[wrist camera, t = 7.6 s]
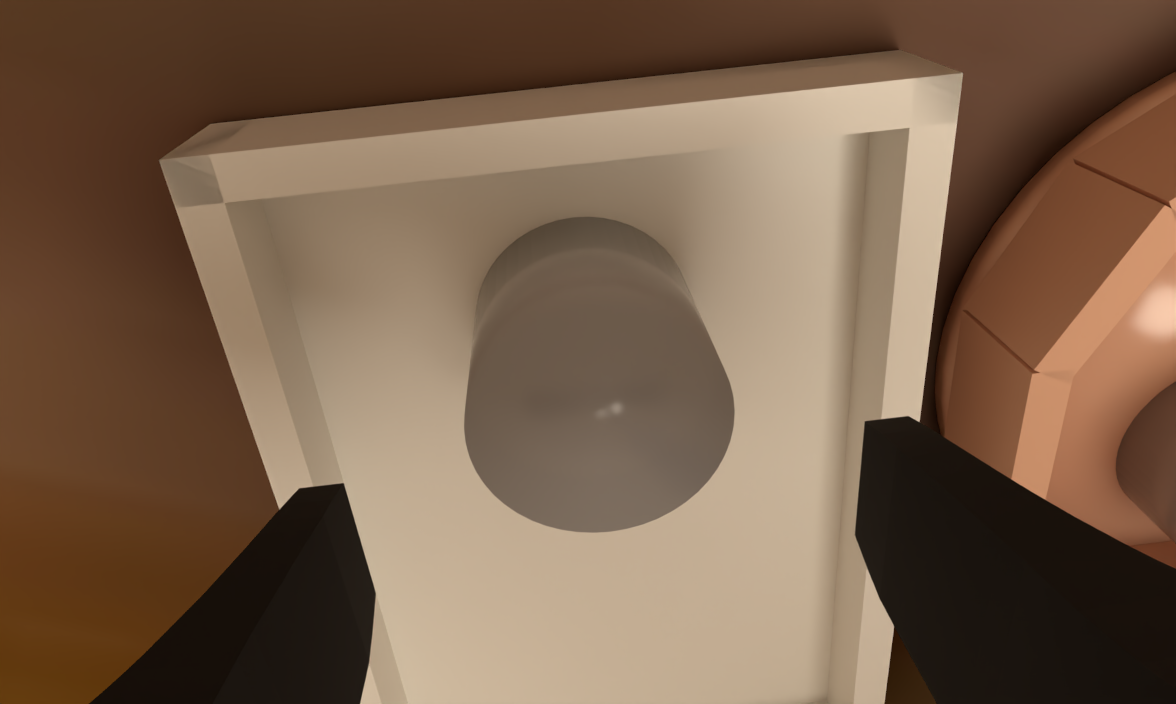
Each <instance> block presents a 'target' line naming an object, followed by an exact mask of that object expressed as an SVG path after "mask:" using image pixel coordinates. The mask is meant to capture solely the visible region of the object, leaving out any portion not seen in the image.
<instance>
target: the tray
mask: <svg viewBox="0 0 1176 704" xmlns="http://www.w3.org/2000/svg"><path fill="white" fill-rule="evenodd" d="M962 78H963V73H962V72H959V71H957V70H954V69H951V68H948V67H946V66H943V65H940V64H938V63H935V62H932V61H930V60H927V59H924V58H921V57H919V56H916V55H913V54H911V53H908V52H905V51H903V50H893V51H884V52H874V53H865V54H856V55H847V56H837V57H828V58H819V59H809V60H800V61H791V62H781V63H772V64H763V65H754V66H744V67H735V68H726V69H716V70H707V71H698V72H688V73H679V74H670V75H660V76H651V77H642V78H633V79H623V80H614V81H605V82H595V83H586V84H577V85H567V86H558V87H549V88H540V89H530V90H521V91H512V92H502V93H493V94H484V95H474V96H465V97H456V98H447V99H437V100H428V101H419V102H409V103H400V104H391V105H381V106H372V107H363V108H353V109H344V110H335V111H326V112H316V113H307V114H298V115H288V116H279V117H270V118H260V119H251V120H242V121H233V122H223V123H214V124H210V125H208V126H207V127H205V128H204V129H202V130H201V131H200V132H198V133H197V134H195V135H194V136H192V137H191V138H190V139H188V140H187V141H185V142H184V143H182V144H181V145H180V146H178V147H177V148H175V149H174V150H172V151H171V152H170V153H168V154H167V155H165V156H164V157H162V158H161V159H160V160H159V162H160V165H161V168H162V171H163V174H164V177H165V180H166V183H167V185H168V188H169V191H170V194H171V197H172V200H173V203H174V206H175V209H176V212H177V214H178V217H179V220H180V223H181V226H182V229H183V232H184V235H185V238H186V241H187V243H188V246H189V249H190V252H191V255H192V258H193V261H194V264H195V267H196V269H197V272H198V275H199V278H200V281H201V284H202V287H203V290H204V293H205V296H206V298H207V301H208V304H209V307H210V310H211V313H212V316H213V319H214V322H215V325H216V327H217V330H218V333H219V336H220V339H221V342H222V345H223V348H224V351H225V354H226V356H227V359H228V362H229V365H230V368H231V371H232V374H233V377H234V380H235V382H236V385H237V388H238V391H239V394H240V397H241V400H242V403H243V406H244V409H245V411H246V414H247V417H248V420H249V423H250V426H251V429H252V432H253V435H254V438H255V440H256V443H257V446H258V449H259V452H260V455H261V458H262V461H263V464H264V467H265V469H266V472H267V475H268V478H269V481H270V484H271V487H272V490H273V493H274V495H275V498H276V501H277V504H278V507H279V510H280V509H281V507H282V506H283V505H284V504H285V503H286V502H287V501H288V500H289V499H290V497H291V496H292V495H293V494H294V493H295V492H296V491H297V490H298V489H299V488H306V487H314V486H323V485H331V484H340V483H344V486H345V489H346V492H347V496H348V499H349V503H350V506H351V510H352V513H353V516H354V520H355V523H356V527H357V530H358V533H359V537H360V540H361V544H362V547H363V551H364V554H365V557H366V561H367V564H368V568H369V571H370V574H371V578H372V581H373V585H374V588H375V592H376V599H375V611H374V622H373V633H372V642H371V651H370V660H369V666H368V670H367V675H366V680H365V684H364V689H363V693H362V697H361V702H360V704H884V703H885V695H886V687H887V679H888V671H889V663H890V655H891V647H892V639H893V631H894V625H893V623H892V621H891V619H890V617H889V616H888V614H887V612H886V610H885V608H884V606H883V604H882V602H881V601H880V599H879V596H878V594H877V591H876V589H875V586H874V584H873V581H872V579H871V576H870V574H869V572H868V569H867V566H866V564H865V561H864V558H863V556H862V553H861V550H860V548H859V545H858V542H857V540H856V537H855V526H856V515H857V503H858V492H859V480H860V469H861V458H862V446H863V435H864V424H865V421H870V420H879V419H887V418H895V417H904V416H909V417H911V418H913V419H915V420H916V421H918V422H920V415H921V407H922V399H923V391H924V383H925V375H926V367H927V359H928V351H929V343H930V335H931V326H932V318H933V310H934V302H935V294H936V286H937V278H938V270H939V262H940V254H941V246H942V238H943V230H944V222H945V214H946V206H947V198H948V190H949V182H950V174H951V166H952V158H953V150H954V142H955V134H956V126H957V118H958V110H959V102H960V94H961V86H962ZM573 217H599V218H606V219H611V220H616V221H619V222H622V223H625V224H628V225H631V226H633V227H635V228H637V229H639V230H641V231H643V232H644V233H646V234H647V235H649V236H650V237H652V238H653V239H655V240H656V241H657V242H658V243H659V244H660V245H661V246H662V247H664V248H665V249H666V251H667V252H668V253H669V254H670V255H671V257H672V258H673V259H674V261H675V262H676V264H677V266H678V267H679V269H680V271H681V273H682V275H683V277H684V280H685V282H686V284H687V286H688V289H689V291H690V293H691V295H692V298H693V300H694V302H695V304H696V307H697V309H698V311H699V313H700V316H701V318H702V320H703V322H704V325H705V327H706V329H707V331H708V334H709V336H710V338H711V340H712V343H713V345H714V347H715V349H716V351H717V354H718V356H719V358H720V360H721V363H722V365H723V367H724V370H725V372H726V374H727V377H728V379H729V381H730V385H731V389H732V393H733V397H734V409H735V415H734V427H733V432H732V436H731V441H730V443H729V446H728V449H727V451H726V454H725V456H724V458H723V460H722V462H721V463H720V465H719V467H718V469H717V470H716V471H715V473H714V474H713V475H712V477H711V478H710V480H709V481H708V482H707V483H706V484H705V485H704V486H703V487H702V488H701V489H700V490H699V492H697V493H696V494H695V495H694V496H693V497H691V498H690V499H689V500H688V501H687V502H685V503H684V504H682V505H681V506H679V507H678V508H676V509H675V510H673V511H672V512H670V513H668V514H666V515H664V516H662V517H660V518H658V519H656V520H653V521H650V522H648V523H645V524H643V525H639V526H636V527H632V528H628V529H623V530H617V531H612V532H598V533H588V532H574V531H566V530H560V529H556V528H553V527H549V526H545V525H542V524H540V523H537V522H534V521H532V520H530V519H528V518H526V517H524V516H522V515H520V514H518V513H516V512H515V511H513V510H512V509H511V508H509V507H508V506H506V505H505V504H504V503H502V502H501V501H500V500H499V499H498V498H497V497H496V496H494V495H493V493H492V492H491V491H490V490H489V489H488V488H487V487H486V485H485V484H484V483H483V481H482V480H481V478H480V477H479V475H478V474H477V472H476V471H475V468H474V466H473V464H472V462H471V459H470V457H469V453H468V450H467V446H466V442H465V433H464V415H465V405H466V395H467V386H468V377H469V368H470V359H471V350H472V340H473V331H474V322H475V313H476V305H477V300H478V295H479V291H480V288H481V285H482V283H483V280H484V278H485V276H486V274H487V272H488V271H489V269H490V267H491V266H492V264H493V263H494V262H495V260H496V259H497V257H498V256H499V255H500V254H501V253H502V252H503V251H504V250H505V249H506V248H507V247H508V246H509V245H510V244H512V243H513V242H514V241H515V240H517V239H518V238H519V237H521V236H523V235H524V234H526V233H527V232H529V231H531V230H533V229H535V228H537V227H539V226H542V225H544V224H547V223H550V222H553V221H557V220H561V219H567V218H573Z"/></svg>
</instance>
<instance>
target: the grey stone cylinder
mask: <svg viewBox="0 0 1176 704" xmlns="http://www.w3.org/2000/svg"><path fill="white" fill-rule="evenodd" d="M1116 475H1117V479H1118V482H1119V485H1120V487H1121V489H1122V491H1123V492H1124V493H1125V495H1126V496H1127V497H1128V498H1129V499H1130V500H1131V501H1132V502H1133V503H1134V504H1135V505H1136V506H1137V507H1138V508H1139V509H1140V510H1141V511H1142V512H1143V513H1144V514H1145V515H1146V516H1147V517H1148V518H1149V519H1150V520H1151V521H1152V522H1153V523H1154V524H1155V525H1156V526H1157V527H1158V528H1159V529H1160V530H1161V531H1162V532H1163V533H1165V534H1166V535H1167V536H1168V537H1169V538H1170V539H1171V540H1172V541H1173V542H1174V543H1175V544H1176V382H1174V383H1173V384H1171V385H1170V386H1168V387H1167V388H1166V389H1164V390H1163V391H1161V392H1160V393H1159V394H1158V395H1157V396H1155V397H1154V398H1153V399H1152V400H1151V401H1150V402H1149V403H1148V404H1147V405H1146V406H1145V407H1144V408H1143V409H1142V410H1141V411H1140V412H1139V413H1138V415H1137V416H1136V417H1135V418H1134V420H1133V421H1132V423H1131V424H1130V426H1129V427H1128V429H1127V430H1126V432H1125V434H1124V436H1123V438H1122V440H1121V443H1120V446H1119V449H1118V453H1117V458H1116Z"/></svg>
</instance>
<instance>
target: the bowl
mask: <svg viewBox="0 0 1176 704" xmlns="http://www.w3.org/2000/svg"><path fill="white" fill-rule="evenodd" d="M1174 382H1176V72H1174V73H1172V74H1170V75H1168V76H1166V77H1164V78H1163V79H1161V80H1159V81H1157V82H1155V83H1154V84H1152V85H1150V86H1148V87H1147V88H1145V89H1143V90H1141V91H1139V92H1138V93H1136V94H1134V95H1132V96H1131V97H1129V98H1128V99H1126V100H1125V101H1123V102H1122V103H1120V104H1119V105H1117V106H1116V107H1115V108H1113V109H1112V110H1110V111H1109V112H1107V113H1106V114H1105V115H1103V116H1102V117H1100V118H1099V119H1097V120H1096V121H1095V122H1093V123H1092V124H1090V125H1089V126H1088V127H1087V128H1086V129H1084V130H1083V131H1082V132H1081V133H1080V134H1079V135H1077V136H1076V137H1075V138H1074V139H1073V140H1072V141H1070V142H1069V143H1068V144H1067V145H1066V146H1065V147H1063V148H1062V149H1061V150H1060V151H1059V152H1058V153H1056V154H1055V155H1054V156H1053V157H1052V158H1051V159H1050V160H1049V161H1048V162H1047V163H1046V164H1045V165H1044V166H1043V167H1042V168H1041V169H1040V171H1039V172H1038V173H1037V174H1036V175H1035V176H1034V177H1033V178H1032V179H1031V180H1030V181H1029V182H1028V183H1027V184H1026V185H1025V186H1024V187H1023V188H1022V189H1021V191H1020V192H1019V193H1018V194H1017V196H1016V197H1015V198H1014V199H1013V201H1012V202H1011V203H1010V205H1009V206H1008V207H1007V208H1006V210H1005V211H1004V212H1003V213H1002V215H1001V216H1000V217H999V218H998V220H997V221H996V222H995V224H994V225H993V227H992V228H991V230H990V231H989V233H988V235H987V236H986V238H985V239H984V241H983V243H982V244H981V246H980V247H979V249H978V250H977V252H976V254H975V255H974V257H973V258H972V260H971V262H970V264H969V266H968V268H967V271H966V273H965V275H964V277H963V279H962V281H961V283H960V285H959V287H958V289H957V291H956V293H955V296H954V298H953V301H952V304H951V307H950V310H949V313H948V316H947V319H946V322H945V325H944V328H943V332H942V336H941V341H940V346H939V351H938V356H937V361H936V376H935V402H936V412H937V422H938V425H939V429H940V432H941V436H943V437H945V438H946V439H948V440H949V441H951V442H952V443H954V444H956V445H957V446H959V447H960V448H962V449H964V450H965V451H967V452H968V453H970V454H972V455H973V456H975V457H976V458H978V459H979V460H981V461H983V462H984V463H986V464H987V465H989V466H991V467H992V468H994V469H995V470H997V471H999V472H1000V473H1002V474H1003V475H1005V476H1007V477H1008V478H1010V479H1012V480H1013V481H1015V482H1016V483H1018V484H1020V485H1021V486H1023V487H1025V488H1026V489H1028V490H1030V491H1031V492H1033V493H1035V494H1036V495H1038V496H1040V497H1041V498H1043V499H1045V500H1047V501H1048V502H1050V503H1052V504H1053V505H1055V506H1057V507H1059V508H1060V509H1062V510H1064V511H1066V512H1067V513H1069V514H1071V515H1073V516H1074V517H1076V518H1078V519H1080V520H1082V521H1084V522H1085V523H1087V524H1089V525H1091V526H1093V527H1095V528H1096V529H1098V530H1100V531H1102V532H1104V533H1106V534H1108V535H1109V536H1111V537H1113V538H1115V539H1117V540H1119V541H1120V542H1122V543H1124V544H1126V545H1128V546H1130V547H1132V548H1134V549H1136V550H1138V551H1140V552H1142V553H1144V554H1146V555H1148V556H1150V557H1152V558H1154V559H1156V560H1158V561H1160V562H1163V563H1165V564H1167V565H1169V566H1171V567H1173V568H1175V569H1176V544H1175V543H1174V542H1173V541H1172V540H1171V539H1170V538H1169V537H1168V536H1167V535H1166V534H1165V533H1163V532H1162V531H1161V530H1160V529H1159V528H1158V527H1157V526H1156V525H1155V524H1154V523H1153V522H1152V521H1151V520H1150V519H1149V518H1148V517H1147V516H1146V515H1145V514H1144V513H1143V512H1142V511H1141V510H1140V509H1139V508H1138V507H1137V506H1136V505H1135V504H1134V503H1133V502H1132V501H1131V500H1130V499H1129V498H1128V497H1127V496H1126V495H1125V493H1124V492H1123V491H1122V489H1121V487H1120V485H1119V482H1118V479H1117V475H1116V458H1117V453H1118V449H1119V446H1120V443H1121V440H1122V438H1123V436H1124V434H1125V432H1126V430H1127V429H1128V427H1129V426H1130V424H1131V423H1132V421H1133V420H1134V418H1135V417H1136V416H1137V415H1138V413H1139V412H1140V411H1141V410H1142V409H1143V408H1144V407H1145V406H1146V405H1147V404H1148V403H1149V402H1150V401H1151V400H1152V399H1153V398H1154V397H1155V396H1157V395H1158V394H1159V393H1160V392H1161V391H1163V390H1164V389H1166V388H1167V387H1168V386H1170V385H1171V384H1173V383H1174Z"/></svg>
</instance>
